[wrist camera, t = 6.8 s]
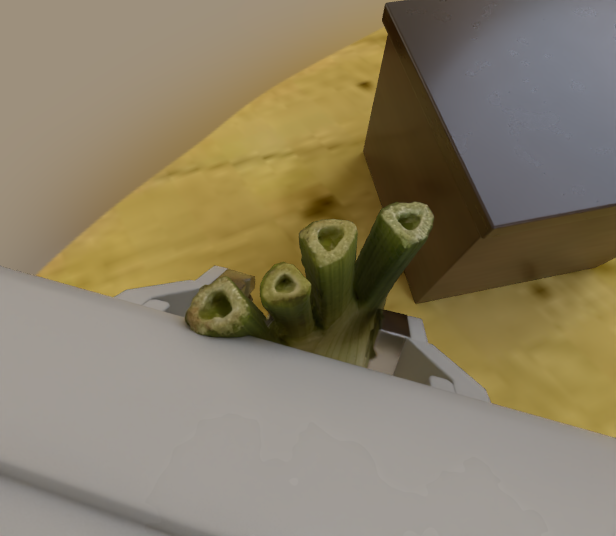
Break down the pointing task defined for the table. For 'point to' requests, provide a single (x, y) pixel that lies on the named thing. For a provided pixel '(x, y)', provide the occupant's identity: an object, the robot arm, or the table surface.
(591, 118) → the stand
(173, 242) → the table surface
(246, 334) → the fennel bulb
